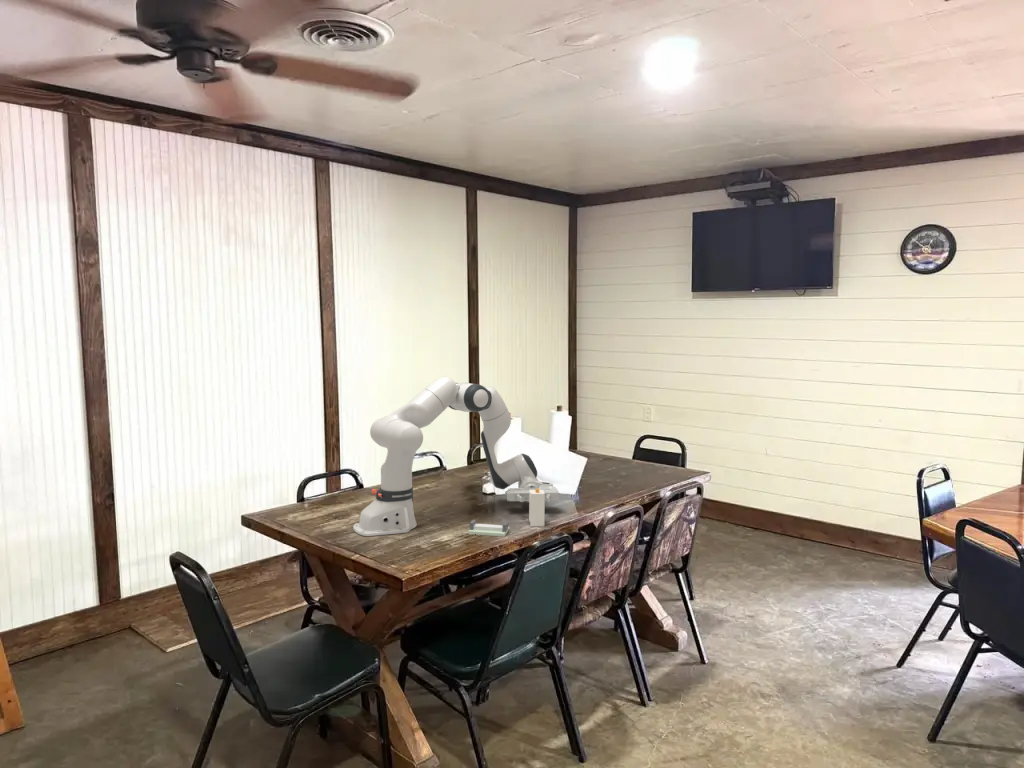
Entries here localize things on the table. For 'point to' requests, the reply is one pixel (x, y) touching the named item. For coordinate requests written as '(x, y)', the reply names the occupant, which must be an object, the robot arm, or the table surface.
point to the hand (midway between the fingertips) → (534, 499)
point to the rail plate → (488, 529)
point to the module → (536, 507)
